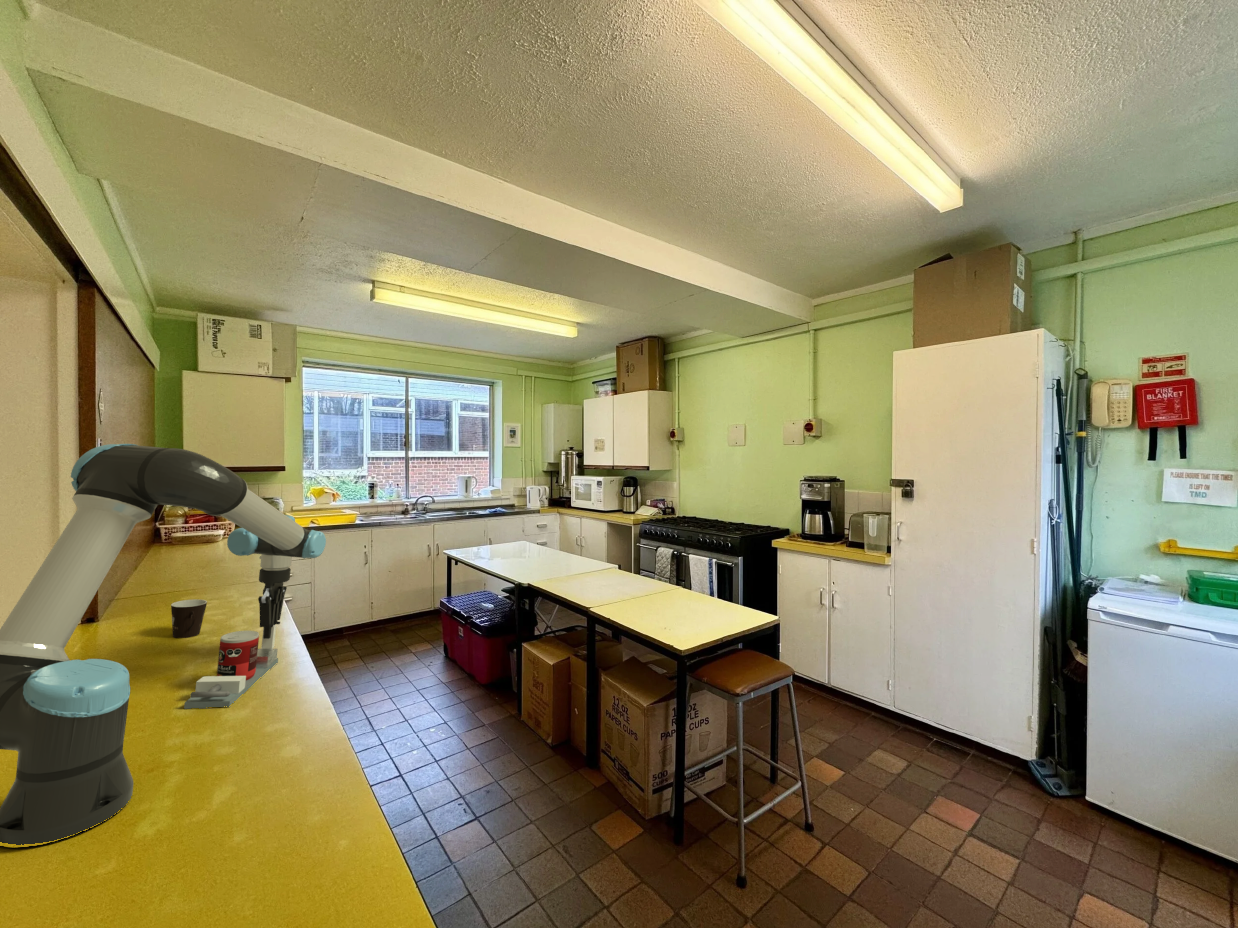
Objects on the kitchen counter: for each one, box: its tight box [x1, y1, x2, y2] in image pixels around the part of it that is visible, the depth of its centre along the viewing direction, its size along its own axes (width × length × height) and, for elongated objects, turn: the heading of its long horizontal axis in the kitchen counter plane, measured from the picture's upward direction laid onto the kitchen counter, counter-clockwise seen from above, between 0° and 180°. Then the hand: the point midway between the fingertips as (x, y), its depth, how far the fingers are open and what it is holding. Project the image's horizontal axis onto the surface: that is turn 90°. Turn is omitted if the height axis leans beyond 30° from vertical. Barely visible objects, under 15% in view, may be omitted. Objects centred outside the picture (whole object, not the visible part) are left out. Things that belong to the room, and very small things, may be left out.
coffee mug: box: [170, 598, 208, 639], centre depth 153 cm, size 12×9×10 cm
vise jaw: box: [256, 648, 278, 668], centre depth 135 cm, size 6×9×3 cm, turn 104°
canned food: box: [216, 630, 260, 680], centre depth 126 cm, size 8×8×11 cm
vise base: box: [183, 657, 279, 710], centre depth 126 cm, size 26×9×4 cm, turn 14°
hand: (267, 647), depth 143 cm, fingers closed
